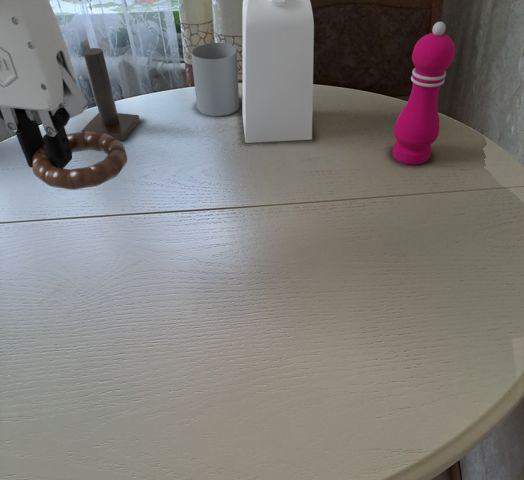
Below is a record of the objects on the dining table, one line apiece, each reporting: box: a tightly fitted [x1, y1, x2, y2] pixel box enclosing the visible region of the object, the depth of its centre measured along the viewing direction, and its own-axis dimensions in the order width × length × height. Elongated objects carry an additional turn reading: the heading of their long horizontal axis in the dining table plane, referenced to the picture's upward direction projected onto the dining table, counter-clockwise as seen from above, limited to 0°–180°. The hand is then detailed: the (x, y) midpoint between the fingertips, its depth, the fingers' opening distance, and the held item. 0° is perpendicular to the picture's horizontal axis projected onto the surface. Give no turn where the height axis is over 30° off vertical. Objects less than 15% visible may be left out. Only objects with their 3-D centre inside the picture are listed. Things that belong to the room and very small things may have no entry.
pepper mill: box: [391, 21, 456, 166], centre depth 78 cm, size 7×7×20 cm
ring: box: [32, 131, 128, 191], centre depth 55 cm, size 10×10×2 cm
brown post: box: [81, 47, 141, 142], centre depth 89 cm, size 8×8×13 cm
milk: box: [241, 0, 315, 144], centre depth 84 cm, size 12×12×26 cm
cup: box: [190, 42, 240, 117], centre depth 96 cm, size 8×8×10 cm
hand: (51, 161), depth 56 cm, fingers closed on ring, 2 cm apart
